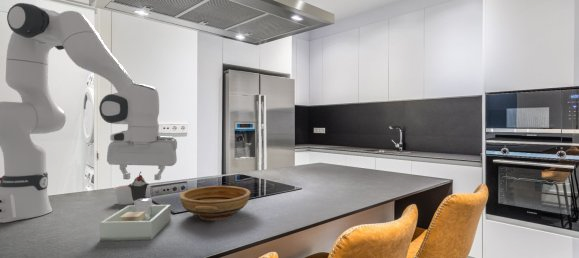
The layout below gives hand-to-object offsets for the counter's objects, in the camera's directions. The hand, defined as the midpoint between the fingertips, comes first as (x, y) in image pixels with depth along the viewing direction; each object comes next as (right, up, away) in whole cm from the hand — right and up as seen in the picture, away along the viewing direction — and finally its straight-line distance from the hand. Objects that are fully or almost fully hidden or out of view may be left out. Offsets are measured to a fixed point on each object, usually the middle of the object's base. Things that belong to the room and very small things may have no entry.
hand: (142, 179), depth 97 cm
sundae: (-8, -14, +14) cm, 21 cm away
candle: (-19, -14, +27) cm, 36 cm away
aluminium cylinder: (0, -14, 0) cm, 14 cm away
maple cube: (+1, -14, -8) cm, 16 cm away
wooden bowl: (+21, -15, +11) cm, 28 cm away
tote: (+1, -15, -4) cm, 15 cm away
